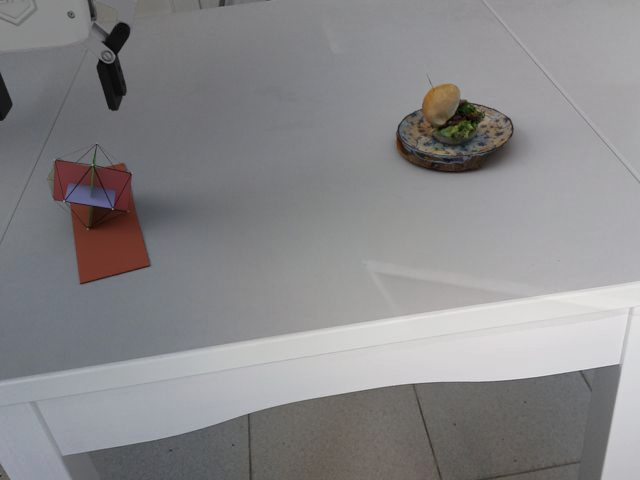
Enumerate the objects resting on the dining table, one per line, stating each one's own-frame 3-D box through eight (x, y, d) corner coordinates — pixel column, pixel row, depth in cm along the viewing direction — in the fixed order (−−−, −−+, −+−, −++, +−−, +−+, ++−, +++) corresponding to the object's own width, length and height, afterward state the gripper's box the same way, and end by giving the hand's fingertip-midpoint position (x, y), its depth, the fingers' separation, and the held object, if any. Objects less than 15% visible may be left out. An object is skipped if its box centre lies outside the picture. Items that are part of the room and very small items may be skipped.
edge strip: (80, 284, 62) (79, 283, 62) (66, 176, 76) (66, 175, 76) (149, 265, 63) (149, 264, 63) (123, 163, 77) (123, 162, 77)
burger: (499, 179, 69) (505, 103, 64) (381, 166, 72) (377, 93, 67) (522, 121, 77) (529, 50, 72) (415, 112, 80) (414, 43, 75)
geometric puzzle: (153, 169, 71) (82, 115, 66) (150, 206, 66) (73, 150, 61) (108, 216, 74) (37, 167, 69) (102, 255, 69) (25, 205, 64)
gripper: (-169, -101, 48) (-54, 138, 60) (93, -123, 48) (155, 120, 60) (-123, -125, 53) (-27, 98, 65) (112, -145, 53) (165, 81, 65)
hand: (60, 108), depth 62 cm, fingers open, 9 cm apart
